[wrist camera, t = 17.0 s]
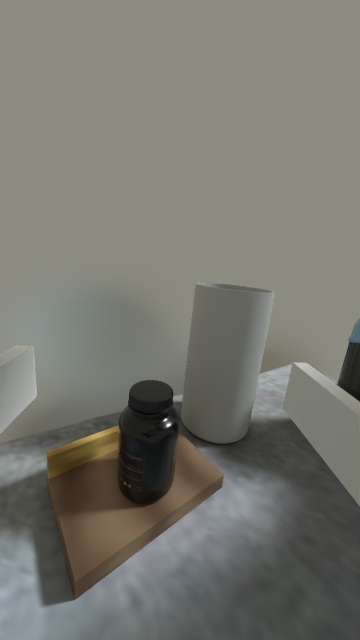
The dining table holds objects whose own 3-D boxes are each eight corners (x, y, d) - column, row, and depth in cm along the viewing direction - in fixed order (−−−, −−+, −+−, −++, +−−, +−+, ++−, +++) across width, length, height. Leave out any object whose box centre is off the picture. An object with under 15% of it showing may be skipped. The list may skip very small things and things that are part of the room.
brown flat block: (168, 432, 39) (171, 405, 38) (221, 487, 30) (227, 455, 29) (47, 486, 28) (46, 451, 27) (75, 599, 19) (75, 554, 18)
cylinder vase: (216, 396, 52) (233, 284, 46) (262, 432, 42) (291, 293, 36) (168, 410, 45) (181, 281, 39) (208, 457, 35) (234, 291, 29)
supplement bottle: (144, 448, 33) (150, 369, 30) (184, 475, 29) (195, 389, 26) (103, 481, 27) (106, 389, 24) (146, 521, 23) (155, 418, 21)
